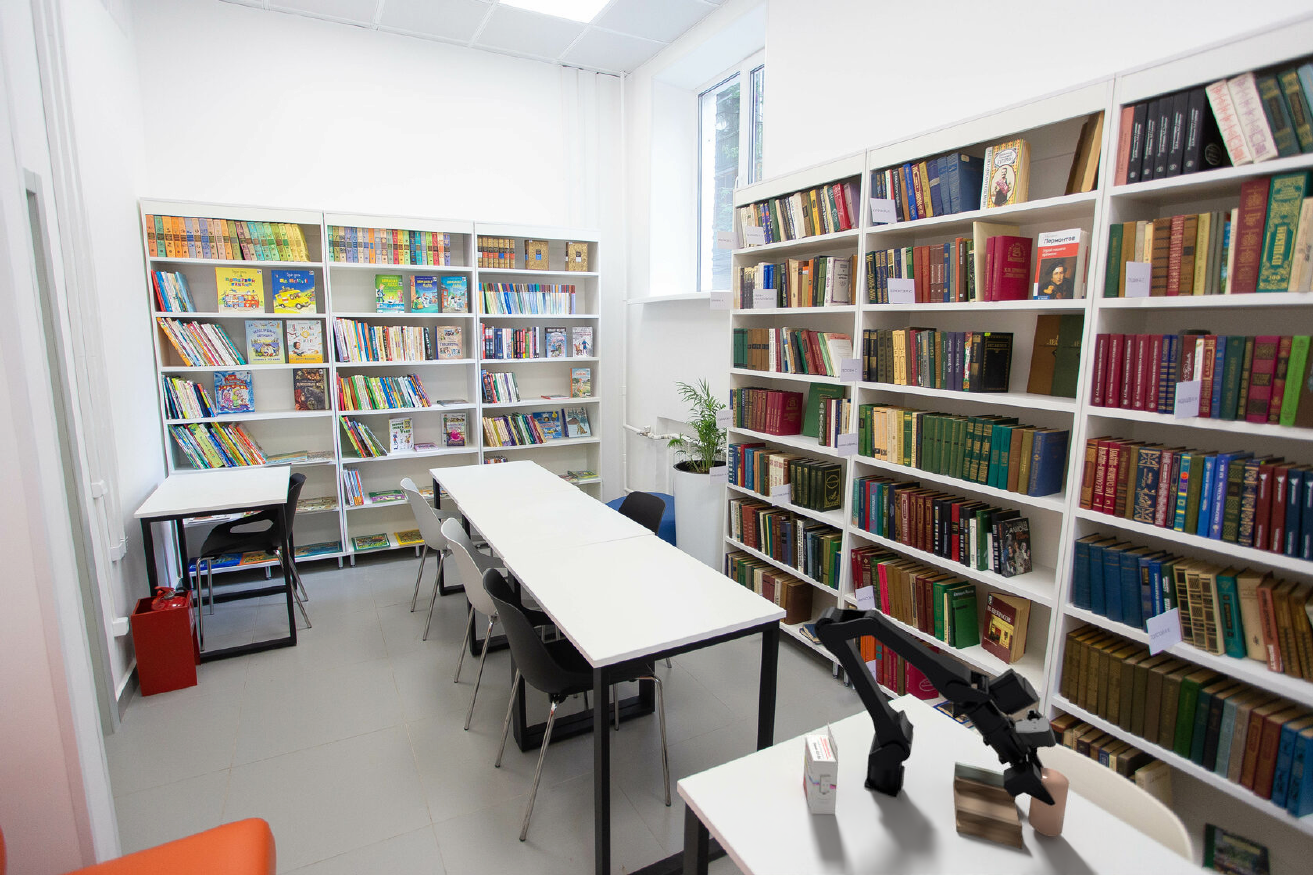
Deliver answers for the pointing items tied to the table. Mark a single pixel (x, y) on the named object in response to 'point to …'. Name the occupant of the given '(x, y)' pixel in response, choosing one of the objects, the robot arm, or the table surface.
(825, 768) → the ink cartridge box
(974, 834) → the walnut shelf
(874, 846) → the table surface
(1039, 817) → the peach pink cylinder
